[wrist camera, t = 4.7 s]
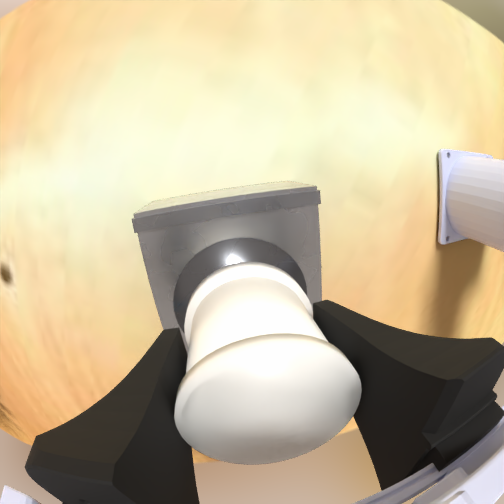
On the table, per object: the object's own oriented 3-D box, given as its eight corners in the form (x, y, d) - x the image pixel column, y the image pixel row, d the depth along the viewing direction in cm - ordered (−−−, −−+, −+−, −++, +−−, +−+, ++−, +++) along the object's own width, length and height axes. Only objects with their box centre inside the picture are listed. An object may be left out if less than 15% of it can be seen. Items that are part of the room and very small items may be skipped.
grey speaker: (289, 180, 16) (319, 185, 12) (300, 380, 21) (318, 420, 17) (151, 201, 15) (130, 214, 11) (204, 399, 20) (207, 442, 16)
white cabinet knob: (312, 259, 12) (385, 329, 6) (300, 361, 13) (341, 450, 8) (181, 262, 11) (152, 347, 5) (192, 368, 13) (186, 468, 7)
